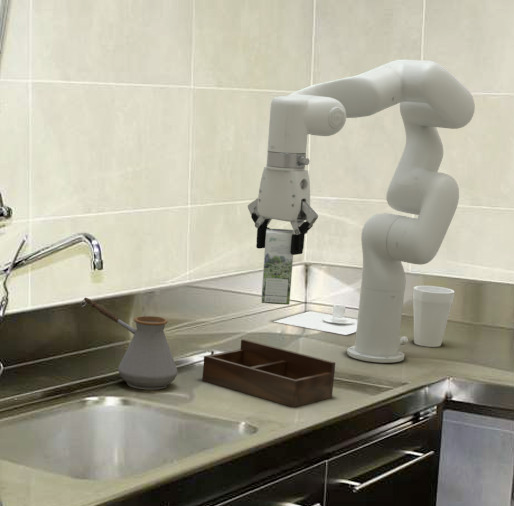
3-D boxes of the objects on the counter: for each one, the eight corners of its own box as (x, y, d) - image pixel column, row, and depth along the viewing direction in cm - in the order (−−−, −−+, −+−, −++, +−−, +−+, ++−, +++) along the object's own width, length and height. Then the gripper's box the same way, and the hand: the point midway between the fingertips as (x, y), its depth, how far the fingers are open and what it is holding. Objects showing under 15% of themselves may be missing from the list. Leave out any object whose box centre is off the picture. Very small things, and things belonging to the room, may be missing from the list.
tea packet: (289, 300, 248) (294, 228, 244) (289, 305, 242) (294, 232, 238) (261, 298, 248) (266, 227, 244) (260, 303, 243) (265, 231, 239)
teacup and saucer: (344, 327, 300) (345, 311, 299) (315, 322, 304) (316, 306, 303) (359, 322, 307) (360, 306, 306) (330, 317, 312) (332, 301, 310)
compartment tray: (241, 372, 250) (244, 338, 248) (332, 397, 235) (335, 362, 233) (202, 380, 241) (204, 346, 240) (293, 407, 226) (296, 370, 224)
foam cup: (453, 344, 290) (460, 290, 286) (439, 350, 282) (446, 295, 279) (416, 337, 294) (422, 284, 291) (401, 343, 287) (407, 288, 283)
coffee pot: (187, 384, 238) (192, 308, 234) (158, 396, 228) (162, 317, 224) (94, 365, 247) (98, 293, 243) (63, 376, 238) (66, 300, 234)
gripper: (333, 165, 235) (325, 255, 240) (263, 156, 246) (257, 243, 251) (310, 166, 229) (302, 259, 234) (239, 157, 241) (233, 246, 245)
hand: (279, 250), depth 242 cm, fingers closed on tea packet, 8 cm apart
